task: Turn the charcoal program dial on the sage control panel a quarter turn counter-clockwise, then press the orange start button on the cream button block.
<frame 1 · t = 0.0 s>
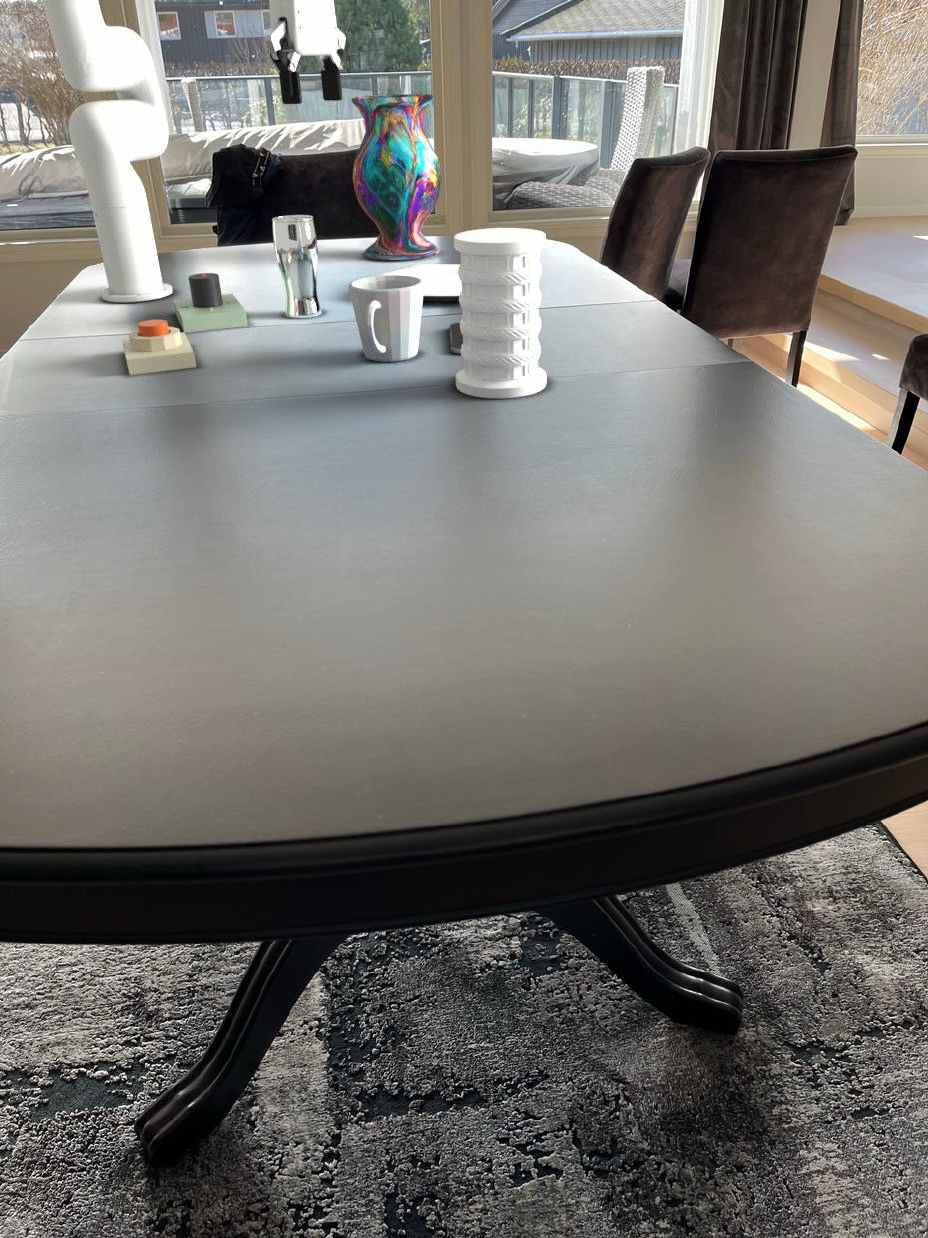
hand: (313, 101, 139), 31 cm above the table, tool pointing down, fingers open, 9 cm apart
program dial: (205, 289, 154), point 5 cm above the table, hinge at 0.0°
dial panel: (210, 320, 156), on the table
mug: (387, 360, 133), on the table
button block: (159, 360, 136), on the table
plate: (441, 290, 172), on the table
vase: (401, 255, 203), on the table
start button: (153, 328, 133), point 4 cm above the table, slide at 0.1 cm
decorative container: (501, 385, 121), on the table
beer glass: (303, 315, 158), on the table
smartphone: (476, 340, 140), on the table
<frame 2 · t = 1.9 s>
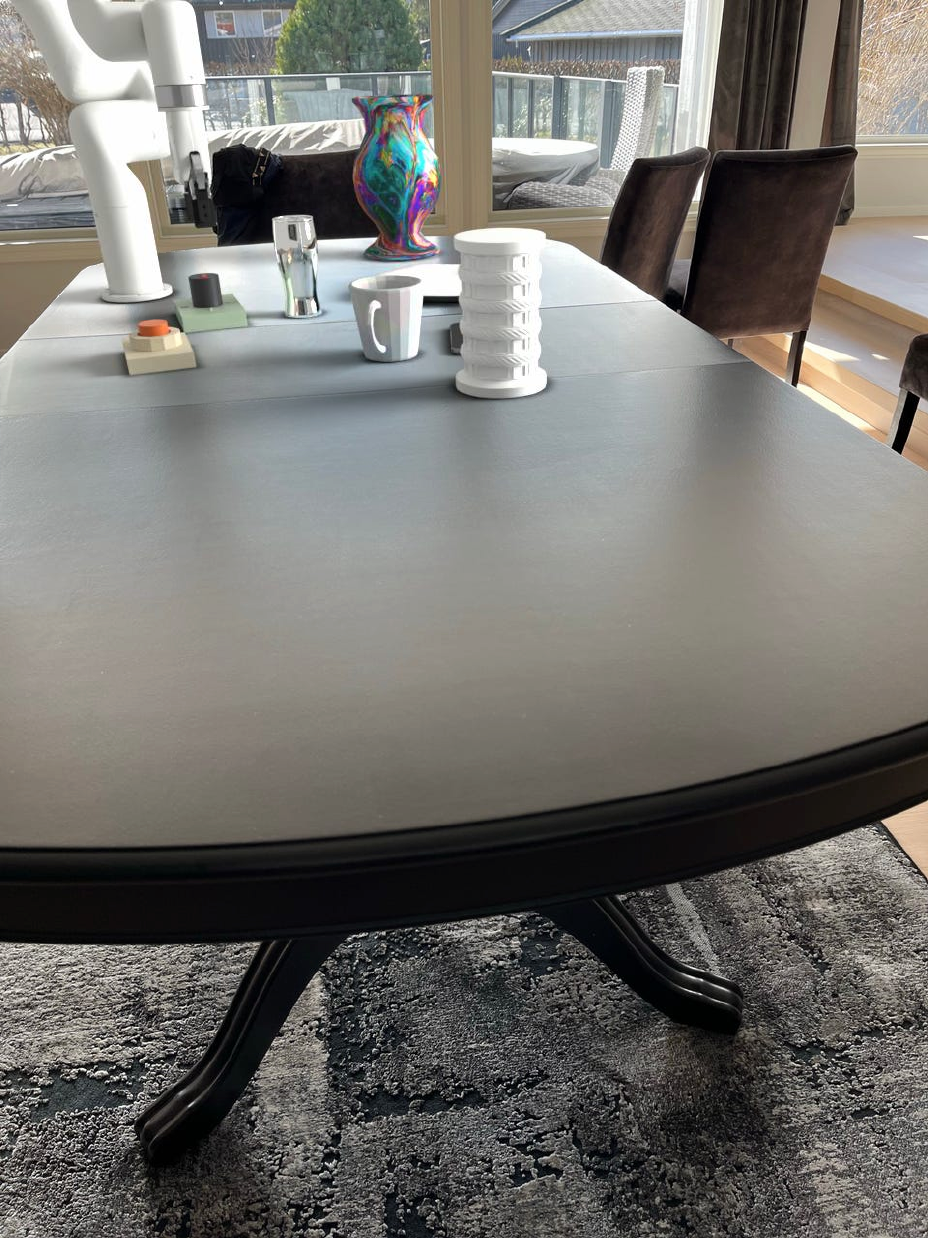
hand: (202, 223, 148), 15 cm above the table, tool pointing down, fingers open, 9 cm apart
nothing on the table moved.
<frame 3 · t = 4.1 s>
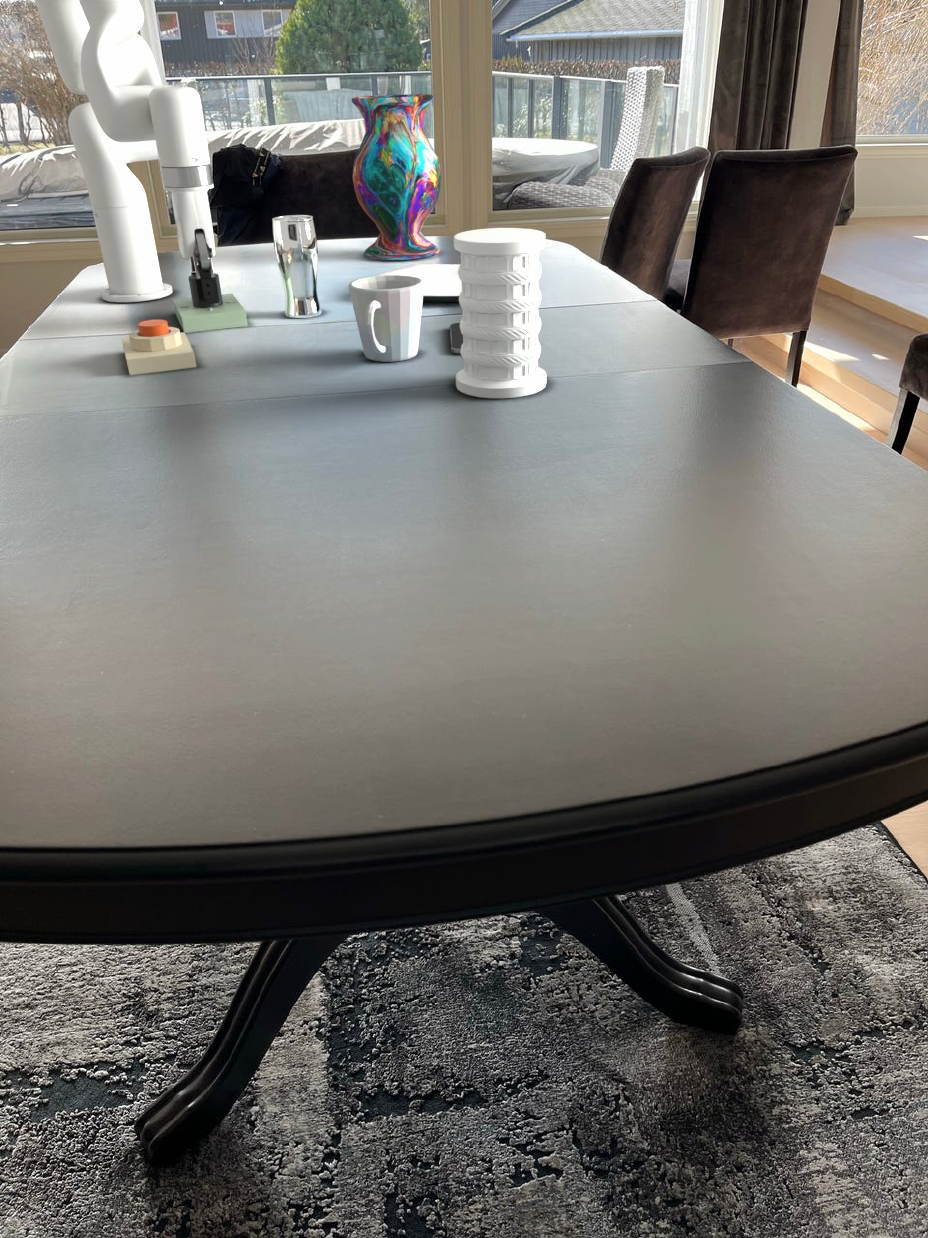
hand: (207, 298, 155), 3 cm above the table, tool pointing down, fingers closed on program dial, 4 cm apart
program dial: (205, 289, 154), point 5 cm above the table, hinge at 0.0°, touching gripper
everything else where it was.
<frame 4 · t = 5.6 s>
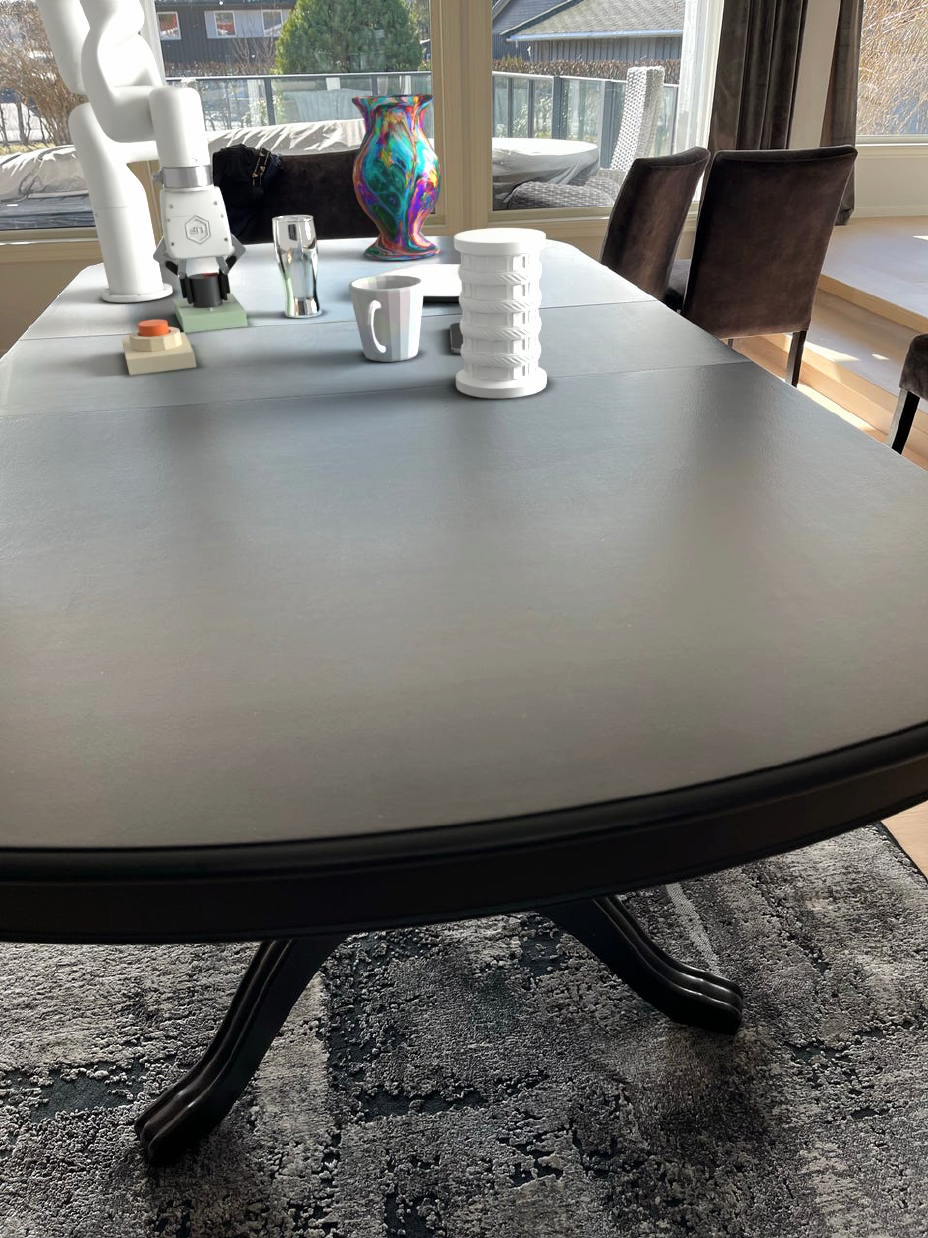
hand: (207, 299, 154), 3 cm above the table, tool pointing down, fingers closed on program dial, 4 cm apart
program dial: (205, 289, 154), point 5 cm above the table, hinge at 90.5°, touching gripper
everything else where it was.
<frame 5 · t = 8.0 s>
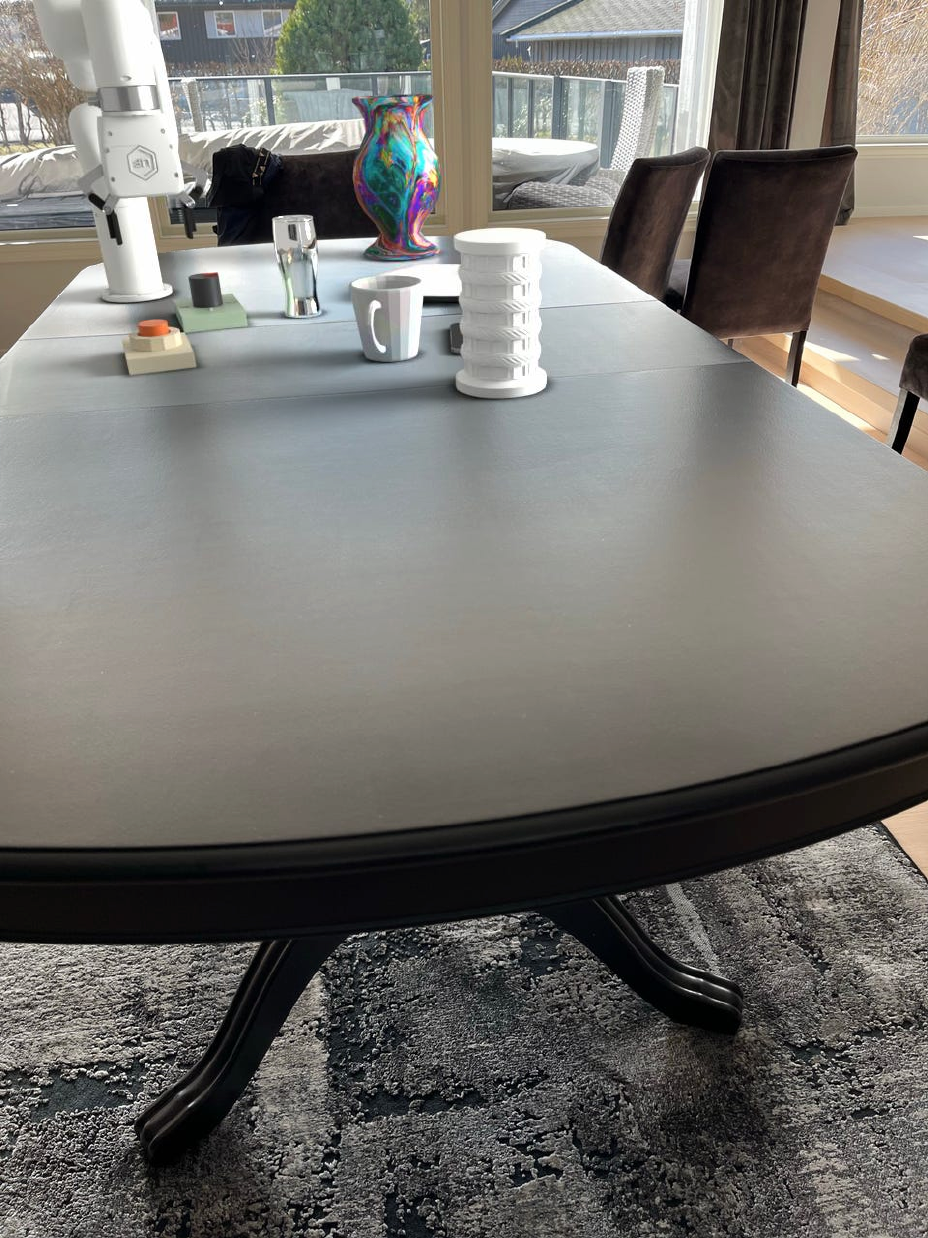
hand: (155, 240, 133), 15 cm above the table, tool pointing down, fingers open, 9 cm apart
program dial: (205, 289, 154), point 5 cm above the table, hinge at 91.2°
everything else where it was.
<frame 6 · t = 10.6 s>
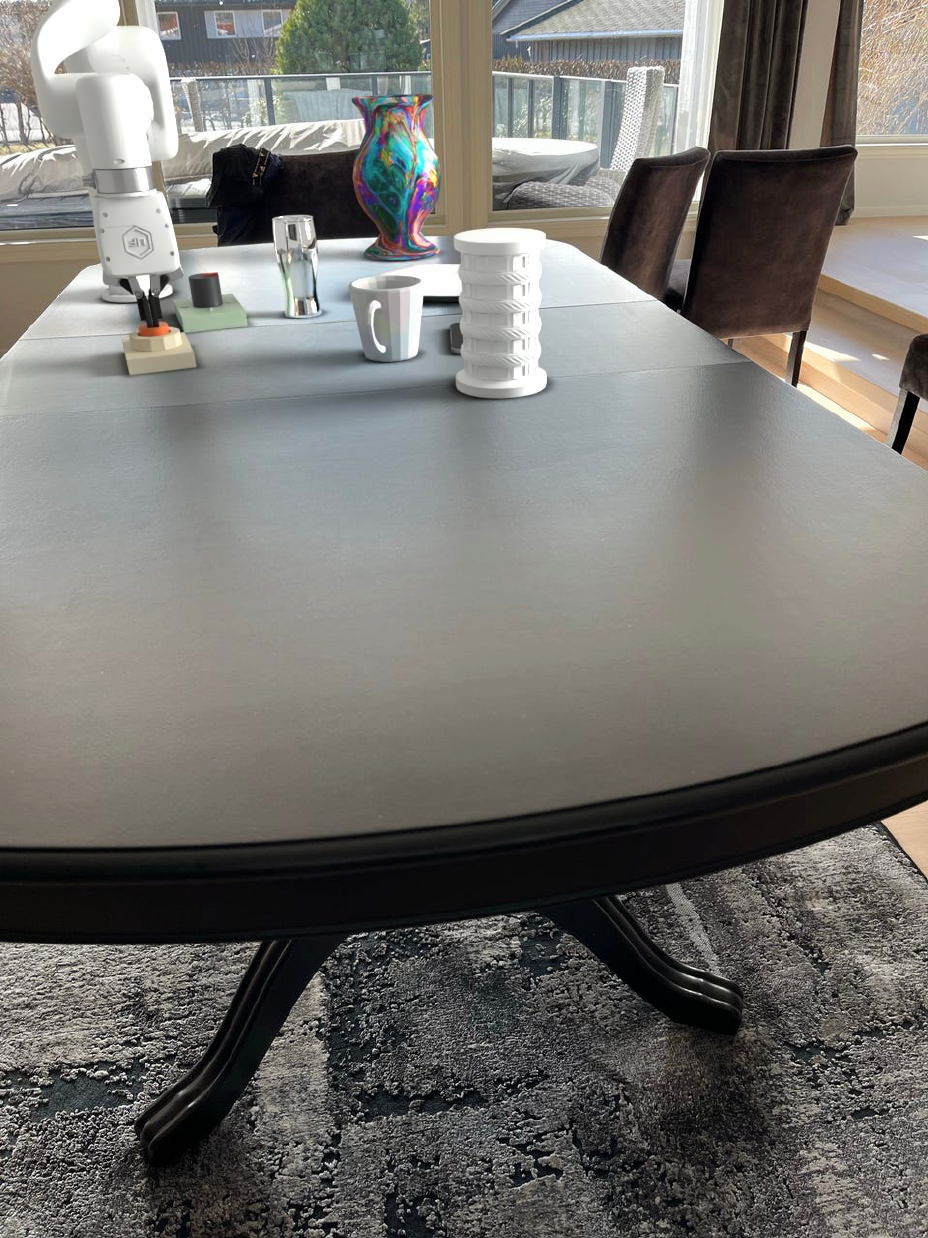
hand: (152, 324, 133), 5 cm above the table, tool pointing down, fingers closed
start button: (154, 331, 133), point 4 cm above the table, slide at -0.2 cm, touching gripper
everything else where it was.
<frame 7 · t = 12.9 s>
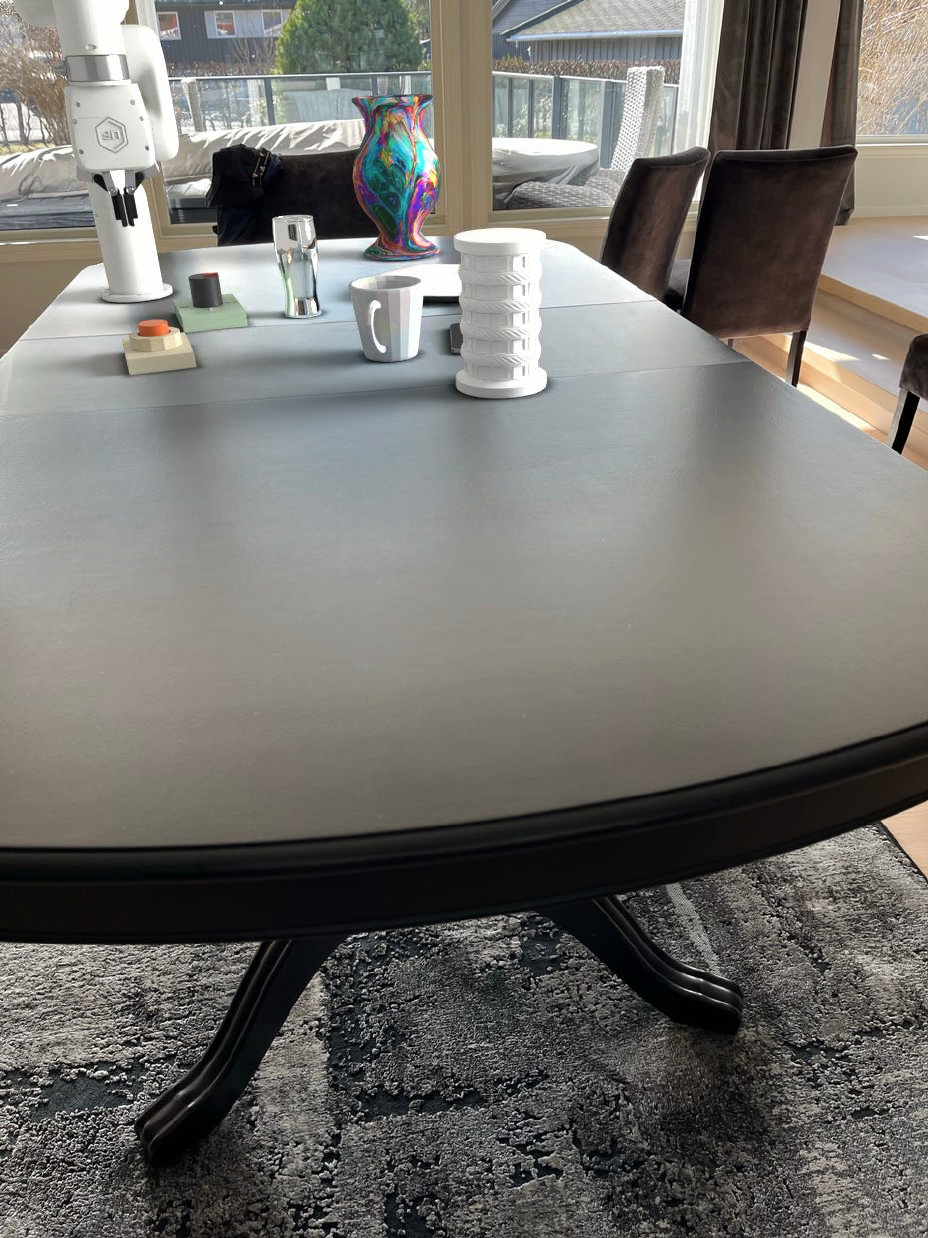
hand: (128, 224, 130), 18 cm above the table, tool pointing down, fingers closed
start button: (153, 328, 133), point 4 cm above the table, slide at 0.1 cm
everything else where it was.
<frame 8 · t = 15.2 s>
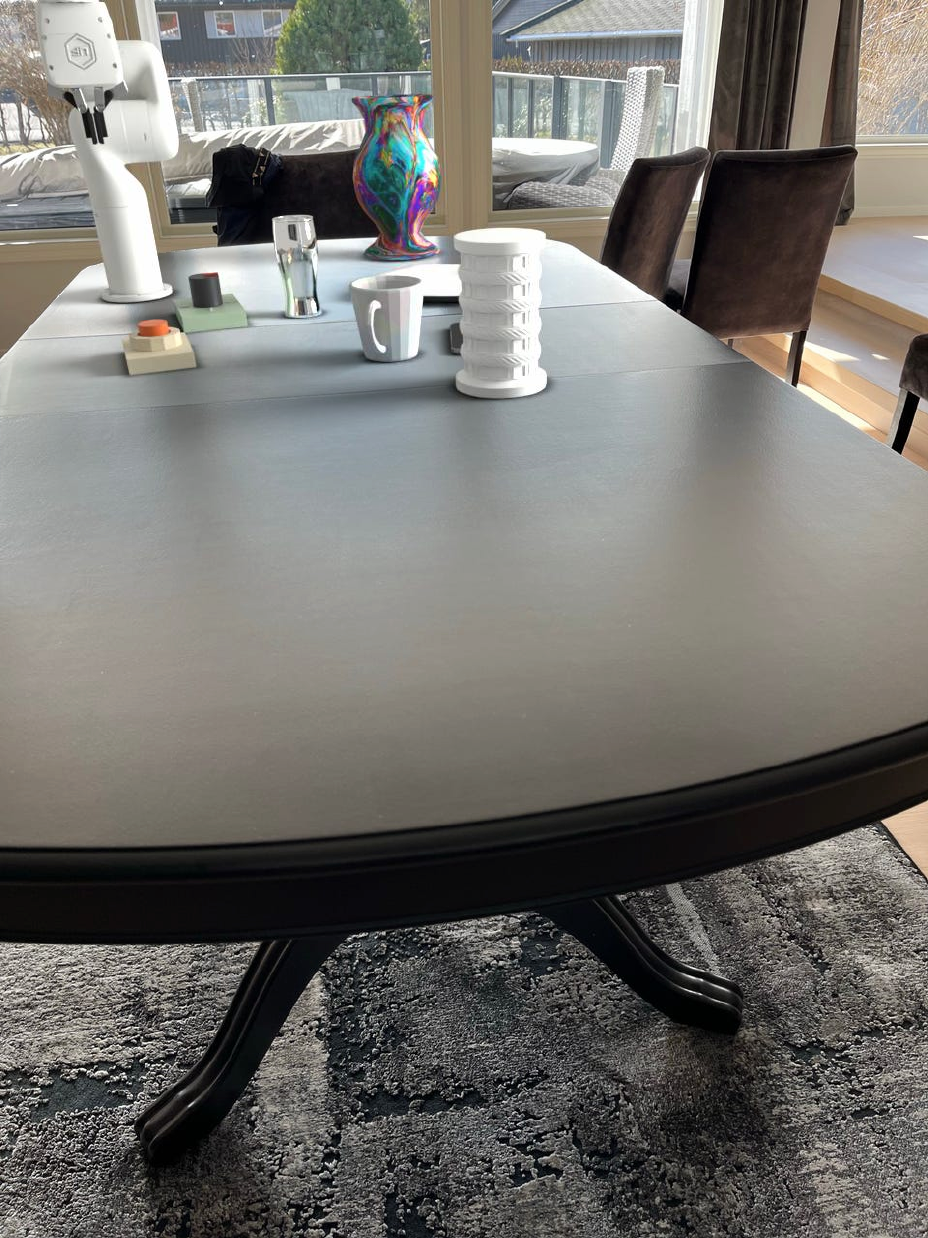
hand: (98, 143, 136), 27 cm above the table, tool pointing down, fingers closed
nothing on the table moved.
at the end: program dial at +91° (first picture: +0°); start button pushed in 1.1 cm at the most during the clip, back to where it started at the end; start button slide at 0.1 cm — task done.
